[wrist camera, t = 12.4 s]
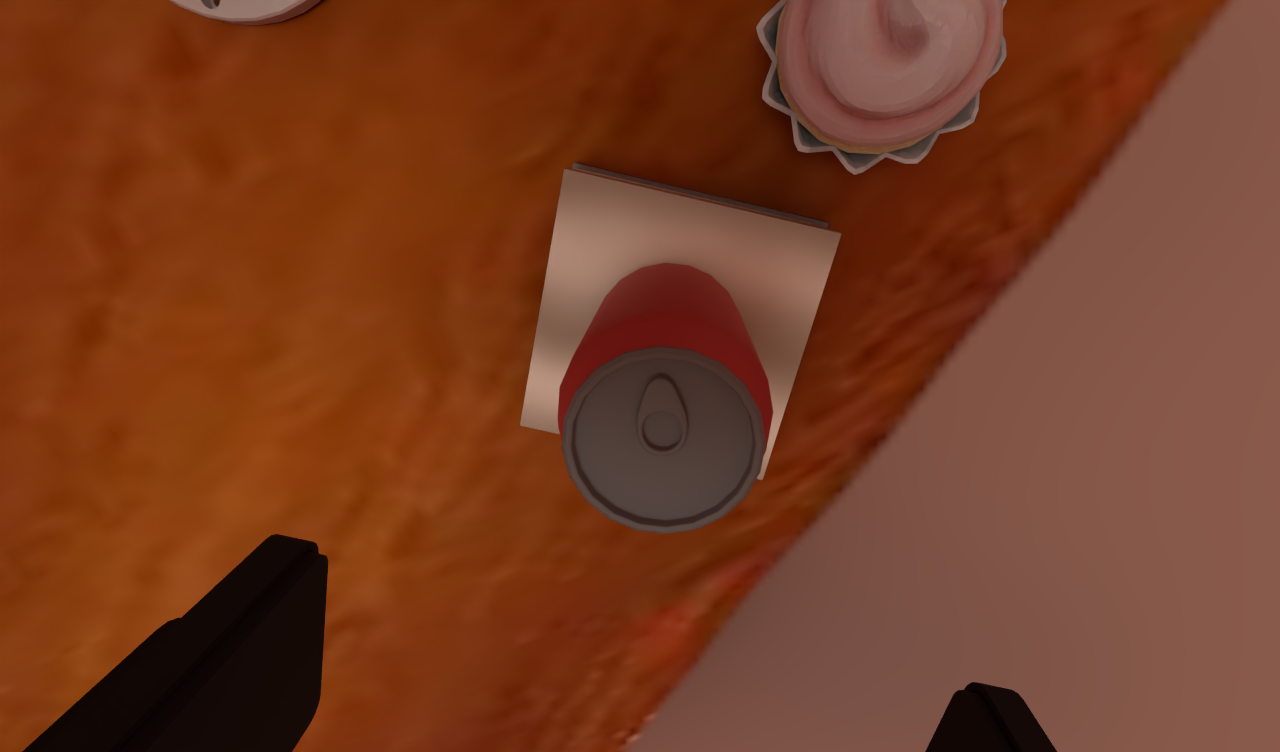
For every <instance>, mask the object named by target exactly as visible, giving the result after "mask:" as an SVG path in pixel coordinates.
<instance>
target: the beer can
mask: <svg viewBox="0 0 1280 752" xmlns="http://www.w3.org/2000/svg"><path fill="white" fill-rule="evenodd" d="M772 417H773V407H772V400H771V394H770V388H769V381H768V378H767V376H766V374H765V371H764V369H763V367H762V364H761V362H760V360H759V357H758V355H757V353H756V350H755V348H754V345H753V343H752V341H751V338H750V336H749V334H748V331H747V329H746V327H745V324H744V322H743V320H742V317H741V315H740V312H739V311H738V309H737V307H736V305H735V303H734V301H733V299H732V298H731V296H730V294H729V292H728V291H727V290H726V289H725V288H724V287H723V286H722V285H721V284H720V283H718V282H717V281H716V280H715V279H714V278H713V277H712V276H711V275H709V274H707V273H704V272H702V271H700V270H698V269H696V268H694V267H691V266H689V265H681V264H672V263H661V264H656V265H651V266H646V267H642V268H640V269H638V270H636V271H634V272H633V273H631V274H629V275H627V276H626V277H624V278H622V279H620V281H619V282H618V283H617V284H616V285H615V286H614V287H613V288H612V289H611V291H610V292H609V293H608V294H607V295H606V296H605V298H604V299H603V301H602V303H601V305H600V307H599V309H598V311H597V312H596V314H595V316H594V318H593V320H592V322H591V324H590V325H589V327H588V329H587V331H586V333H585V335H584V337H583V338H582V340H581V342H580V344H579V346H578V348H577V350H576V351H575V353H574V355H573V357H572V359H571V362H570V364H569V366H568V369H567V371H566V373H565V376H564V378H563V380H562V383H561V385H560V389H559V404H558V428H559V432H560V435H561V439H562V451H563V454H564V458H565V462H566V465H567V469H568V473H569V476H570V477H571V479H572V480H573V482H574V483H575V485H576V486H577V488H578V489H579V491H580V492H581V494H582V495H583V497H584V498H585V500H586V501H588V502H589V503H590V504H591V505H592V506H594V507H595V508H596V509H597V510H599V511H600V512H601V513H602V514H604V515H605V516H606V517H607V518H609V519H611V520H613V521H616V522H618V523H620V524H623V525H625V526H628V527H630V528H632V529H635V530H639V531H647V532H655V533H664V534H669V533H676V532H682V531H689V530H695V529H698V528H701V527H703V526H705V525H707V524H709V523H711V522H713V521H716V520H718V519H720V518H722V517H724V516H725V515H726V514H727V513H729V512H730V511H731V510H732V509H733V508H734V507H735V506H736V505H738V504H739V503H740V502H741V501H742V500H743V499H744V498H745V497H746V496H747V494H748V493H749V491H750V489H751V487H752V486H753V484H754V482H755V480H756V479H757V477H758V475H759V473H760V472H761V467H762V461H763V456H764V454H765V453H766V449H767V443H768V438H769V433H770V427H771V422H772Z"/></svg>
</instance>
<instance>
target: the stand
mask: <svg viewBox="0 0 1280 752" xmlns="http://www.w3.org/2000/svg"><path fill="white" fill-rule="evenodd" d="M828 225H829V223H828V222H826V221H821V220H817V219H813V218H808V217H804V216H800V215H796V214H791V213H787V212H783V211H779V210H774V209H770V208H766V207H761V206H757V205H753V204H749V203H744V202H740V201H736V200H731V199H727V198H723V197H719V196H714V195H710V194H706V193H702V192H697V191H693V190H689V189H684V188H680V187H676V186H672V185H667V184H663V183H659V182H655V181H650V180H646V179H642V178H637V177H633V176H629V175H625V174H620V173H616V172H612V171H608V170H603V169H599V168H595V167H590V166H586V165H582V164H578V163H573V166H572V168H571V169H564V173H563V179H562V185H561V190H560V196H559V202H558V208H557V214H556V219H555V225H554V231H553V237H552V243H551V248H550V254H549V260H548V266H547V272H546V277H545V283H544V289H543V295H542V301H541V306H540V312H539V318H538V324H537V330H536V335H535V341H534V347H533V353H532V359H531V364H530V370H529V376H528V382H527V388H526V393H525V399H524V405H523V411H522V417H521V422H520V425H521V426H525V427H530V428H534V429H539V430H543V431H547V432H552V433H556V434H560V432H559V428H558V404H559V389H560V385H561V383H562V380H563V378H564V376H565V373H566V371H567V369H568V366H569V364H570V362H571V359H572V357H573V355H574V353H575V351H576V350H577V348H578V346H579V344H580V342H581V340H582V338H583V337H584V335H585V333H586V331H587V329H588V327H589V325H590V324H591V322H592V320H593V318H594V316H595V314H596V312H597V311H598V309H599V307H600V305H601V303H602V301H603V299H604V298H605V296H606V295H607V294H608V293H609V292H610V291H611V289H612V288H613V287H614V286H615V285H616V284H617V283H618V282H619V281H620V279H622V278H624V277H626V276H627V275H629V274H631V273H633V272H634V271H636V270H638V269H640V268H642V267H646V266H651V265H656V264H661V263H672V264H681V265H689V266H691V267H694V268H696V269H698V270H700V271H702V272H704V273H707V274H709V275H711V276H712V277H713V278H714V279H715V280H716V281H717V282H718V283H720V284H721V285H722V286H723V287H724V288H725V289H726V290H727V291H728V292H729V294H730V296H731V298H732V299H733V301H734V303H735V305H736V307H737V309H738V311H739V312H740V315H741V317H742V320H743V322H744V324H745V327H746V329H747V331H748V334H749V336H750V338H751V341H752V343H753V345H754V348H755V350H756V353H757V355H758V357H759V360H760V362H761V364H762V367H763V369H764V371H765V374H766V376H767V378H768V381H769V388H770V394H771V400H772V407H773V417H772V422H771V427H770V433H769V438H768V443H767V449H766V453H765V454H764V456H763V461H762V467H761V472H760V473H759V475H758V477H757V479H760V480H763V477H764V474H765V470H766V467H767V464H768V461H769V458H770V455H771V452H772V449H773V446H774V442H775V439H776V436H777V433H778V430H779V427H780V424H781V421H782V418H783V414H784V411H785V408H786V405H787V402H788V399H789V396H790V393H791V390H792V386H793V383H794V380H795V377H796V374H797V371H798V368H799V365H800V362H801V358H802V355H803V352H804V349H805V346H806V343H807V340H808V337H809V334H810V330H811V327H812V324H813V321H814V318H815V315H816V312H817V309H818V306H819V302H820V299H821V296H822V293H823V290H824V287H825V284H826V281H827V278H828V274H829V271H830V268H831V265H832V262H833V259H834V256H835V253H836V250H837V246H838V243H839V240H840V237H841V233H839V232H837V231H834V230H832V229H830V228H828Z"/></svg>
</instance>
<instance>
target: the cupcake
mask: <svg viewBox="0 0 1280 752" xmlns="http://www.w3.org/2000/svg"><path fill="white" fill-rule="evenodd" d="M1006 1H1007V0H780V1H779V2H778V3H777V4H776V5H775V6H774V7H773V8H772V9H771V10H770V11H769V12H768V13H767V14H766V15H765V16H764V17H763V18H762V19H761V21H760V22H759V24H758V26H757V27H756V29H757V33H758V37H759V40H760V41H761V43H762V45H763V46H764V48H765V50H766V52H767V53H768V55H769V57H770V59H771V60H772V63H771V66H770V69H769V72H768V75H767V78H766V80H765V83H764V86H763V92H762V99H763V100H764V101H765V102H766V103H767V104H768V105H769V106H771V107H773V108H775V109H777V110H779V111H781V112H783V113H785V114H787V115H789V116H791V122H792V129H793V137H794V143H795V145H796V147H797V150H798V151H800V152H805V153H812V152H823V151H833V153H834V154H835V155H836V156H837V158H838V159H839V160H840V162H841V163H842V164H843V165H844V167H845V168H846V169H847V170H848V171H849V172H851V173H852V174H854V175H856V174H859V173H862V172H864V171H866V170H867V169H869V168H870V167H872V166H873V165H875V164H876V163H878V162H879V161H881V160H882V159H884V158H885V157H887V158H890V159H893V160H896V161H899V162H902V163H904V164H916V163H919V162H920V161H921V160H922V159H923V158H924V157H925V156H926V155H927V154H928V153H929V151H930V149H931V147H932V146H933V144H934V142H935V141H936V139H937V137H938V136H939V134H941V133H946V132H950V131H955V130H959V129H963V128H964V127H966V126H968V125H970V124H971V123H973V122H974V120H975V117H976V115H977V112H978V110H979V97H980V90H981V88H982V87H983V85H984V84H985V82H986V80H987V79H989V78H990V77H991V76H992V75H993V74H995V73H996V72H997V71H998V70H999V68H1000V66H1001V64H1002V63H1003V61H1004V59H1005V58H1006V41H1005V39H1004V36H1003V34H1002V33H1003V8H1004V6H1005V4H1006Z"/></svg>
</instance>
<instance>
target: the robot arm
mask: <svg viewBox="0 0 1280 752" xmlns="http://www.w3.org/2000/svg"><path fill="white" fill-rule="evenodd" d="M170 1H171V2H173V3H175V4H176V5H178V6H180V7H182V8H185V9H187V10H190V11H192V12H195V13H197V14H200V15H202V16H205V17H208V18H212V19H216V20H219V21H223V22H227V23H230V24H243V25H263V24H270V23H276V22H282V21H284V20H287V19H289V18H292V17H294V16H297V15H299V14H302V13H304V12H306V11H307V10H308V9H310V8H311V7H313V6H314V5H315V4H317V3H318V2H320V1H321V0H170ZM327 574H328V559H327V556H325V555H321V554H319V552H318V546H317V544H316V543H314V542H311V541H307V540H302V539H297V538H292V537H288V536H283V535H278V534H275V535H271V536H270V537H268V538H267V539H266V540H265V541H264V542H263V543H261V544H260V545H259V546H258V547H257V548H256V549H255V550H254V551H253V552H252V553H251V554H250V555H248V556H247V557H246V558H245V559H244V560H243V561H242V562H241V563H240V564H239V565H238V566H237V567H236V568H234V569H233V570H232V571H231V572H230V573H229V574H228V575H227V576H226V577H225V578H224V579H223V580H222V581H220V582H219V583H218V584H217V585H216V586H215V587H214V588H213V589H212V590H211V591H210V592H209V593H208V594H206V595H205V596H204V597H203V598H202V599H201V600H200V601H199V602H198V603H197V604H196V605H195V606H194V607H192V608H191V609H190V610H189V611H188V612H187V613H186V614H185V615H184V616H183V617H182V618H176V619H174V620H171V621H168V622H167V623H165V624H164V625H163V626H161V627H160V628H159V629H157V630H156V631H155V632H154V633H153V634H152V635H150V636H149V637H148V638H147V639H146V640H145V641H144V642H143V643H142V644H140V645H139V646H138V647H137V648H136V649H135V650H134V651H133V652H132V653H131V654H129V655H128V656H127V657H126V658H125V659H124V660H123V661H122V662H121V663H120V664H118V665H117V666H116V667H115V668H114V669H113V670H112V671H111V672H110V673H108V674H107V675H106V676H105V677H104V678H103V679H102V680H101V681H100V682H99V683H97V684H96V685H95V686H94V687H93V688H92V689H91V690H90V691H89V692H88V693H86V694H85V695H84V696H83V697H82V698H81V699H80V700H79V701H78V702H77V703H75V704H74V705H73V706H72V707H71V708H70V709H69V710H68V711H67V712H65V713H64V714H63V715H62V716H61V717H60V718H59V719H58V720H57V721H56V722H54V723H53V724H52V725H51V726H50V727H49V728H48V729H47V730H46V731H45V732H43V733H42V734H41V735H40V736H39V737H38V738H37V739H36V740H35V741H33V742H32V743H31V744H30V745H29V746H28V747H27V748H26V749H25V750H24V751H22V752H292V751H293V749H294V748H295V746H296V745H297V743H298V742H299V740H300V738H301V737H302V735H303V734H304V732H305V731H306V729H307V728H308V726H309V724H310V723H311V721H312V719H313V717H314V715H315V713H316V710H317V707H318V704H319V700H320V694H321V678H322V660H323V643H324V626H325V608H326V591H327ZM925 752H1057V751H1056V749H1055V748H1054V746H1053V745H1052V743H1051V742H1050V740H1049V739H1048V737H1047V735H1046V734H1045V732H1044V731H1043V729H1042V728H1041V726H1040V725H1039V723H1038V722H1037V720H1036V719H1035V717H1034V715H1033V714H1032V712H1031V711H1030V709H1029V708H1028V706H1027V705H1026V703H1025V701H1024V700H1023V699H1022V697H1020V695H1019V694H1018V693H1016V692H1015V691H1013V690H1010V689H1005V688H1001V687H996V686H991V685H986V684H982V683H975V682H972V683H970V684H969V685H967V686H966V688H965V689H964V690H958V691H957V692H955V694H954V695H953V697H952V699H951V701H950V703H949V705H948V707H947V709H946V711H945V713H944V715H943V717H942V719H941V721H940V723H939V725H938V727H937V729H936V731H935V733H934V735H933V737H932V739H931V741H930V743H929V745H928V747H927V750H926V751H925Z"/></svg>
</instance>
